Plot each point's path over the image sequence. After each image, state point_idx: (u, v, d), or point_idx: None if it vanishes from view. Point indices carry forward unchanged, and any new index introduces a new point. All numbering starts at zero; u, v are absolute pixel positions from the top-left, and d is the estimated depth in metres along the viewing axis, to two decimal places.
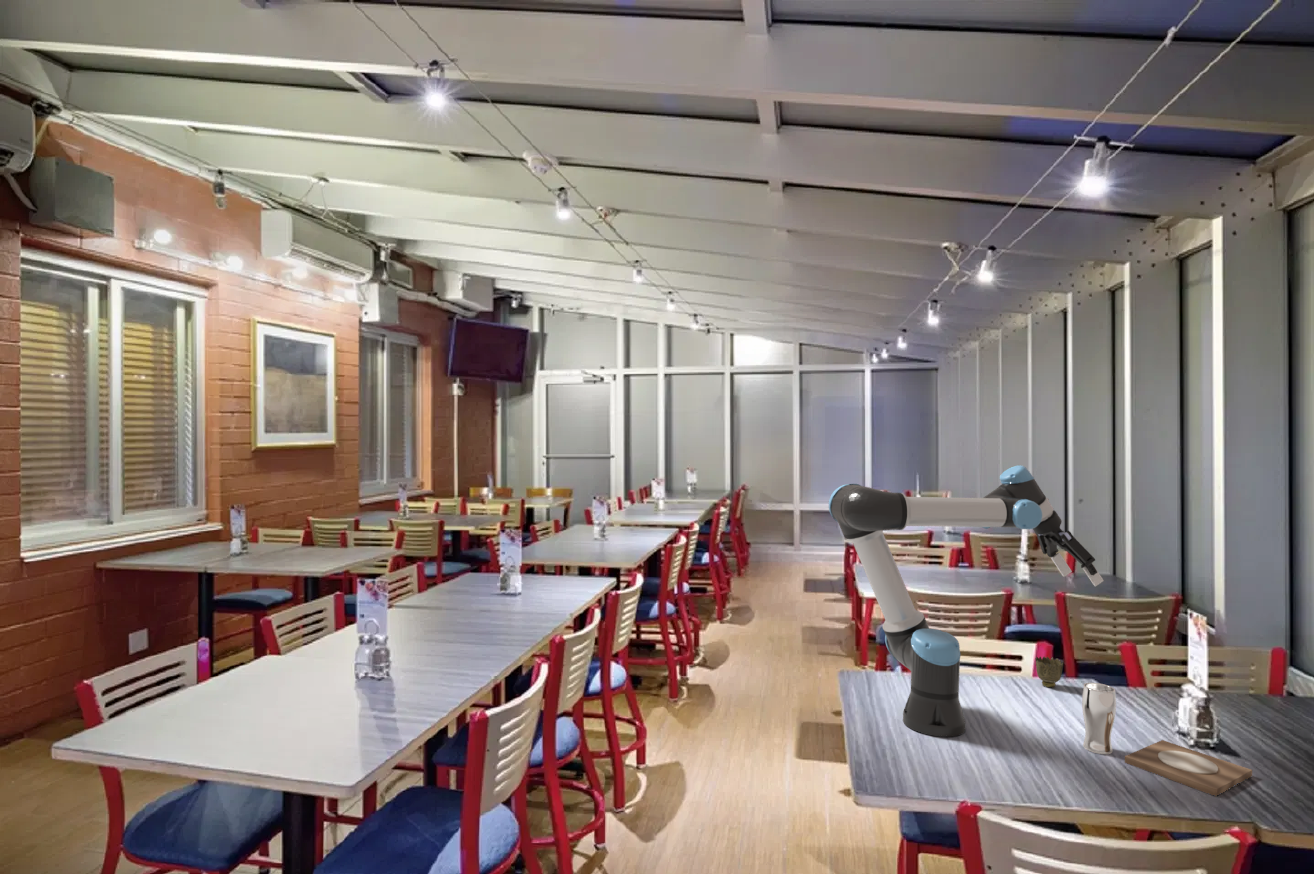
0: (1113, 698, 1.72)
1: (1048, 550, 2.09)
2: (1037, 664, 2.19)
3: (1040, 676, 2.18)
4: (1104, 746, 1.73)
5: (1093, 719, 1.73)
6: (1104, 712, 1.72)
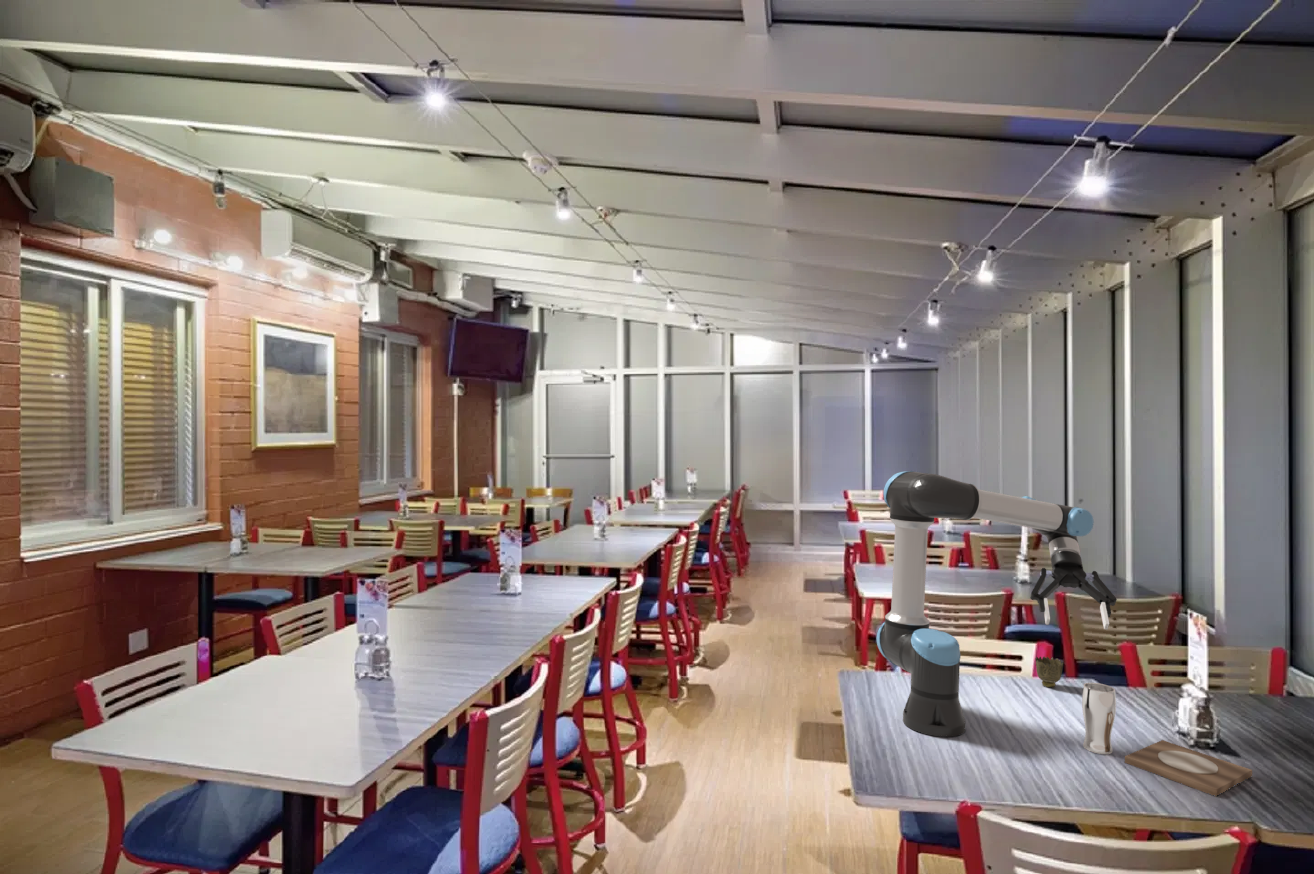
0: (1113, 698, 1.72)
1: (1047, 589, 1.98)
2: (1037, 664, 2.19)
3: (1040, 676, 2.18)
4: (1104, 746, 1.73)
5: (1093, 719, 1.73)
6: (1104, 712, 1.72)
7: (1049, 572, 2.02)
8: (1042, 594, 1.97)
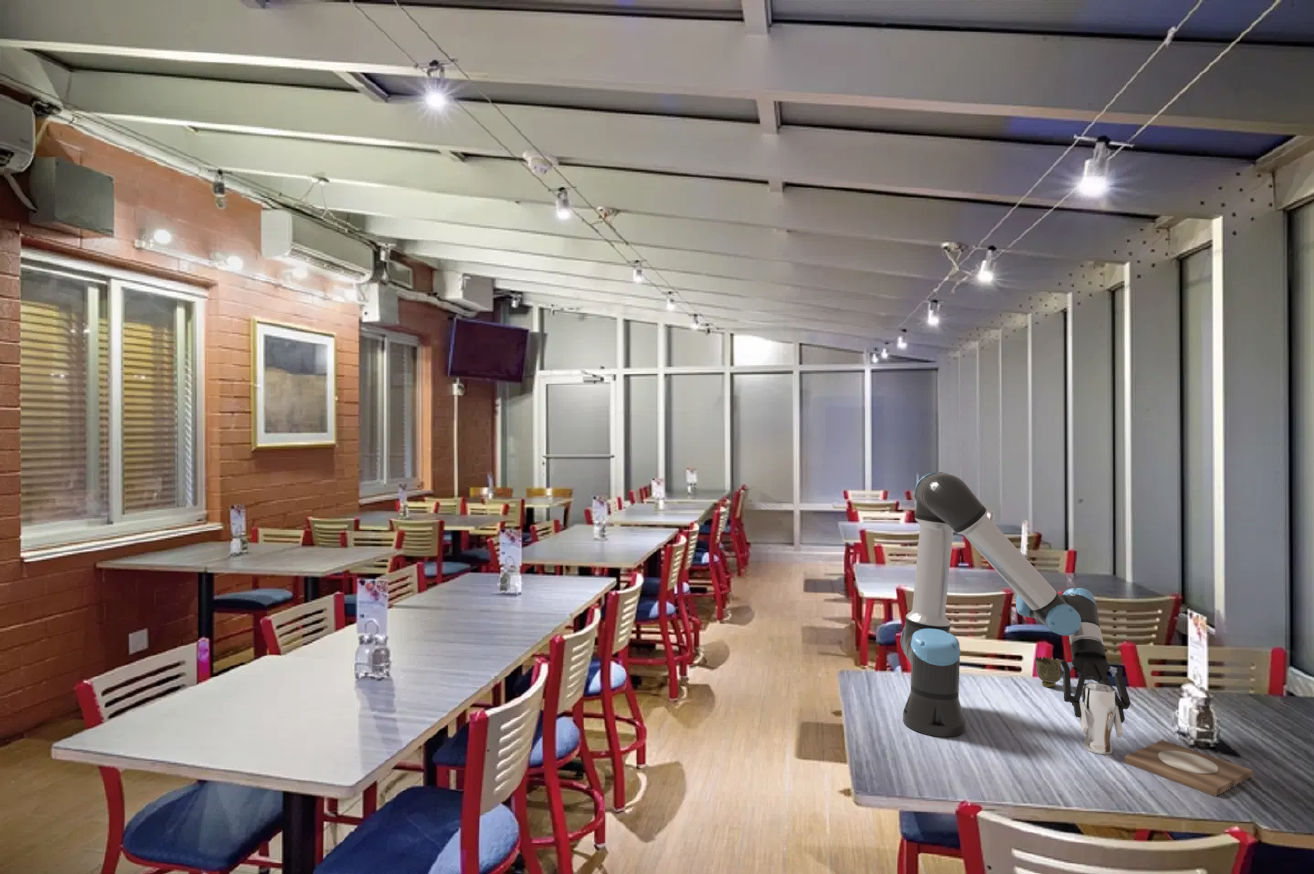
0: (1113, 698, 1.72)
1: (1079, 689, 1.79)
2: (1037, 664, 2.19)
3: (1040, 676, 2.18)
4: (1104, 746, 1.73)
5: (1093, 719, 1.73)
6: (1104, 712, 1.72)
7: (1070, 664, 1.84)
8: (1077, 696, 1.78)
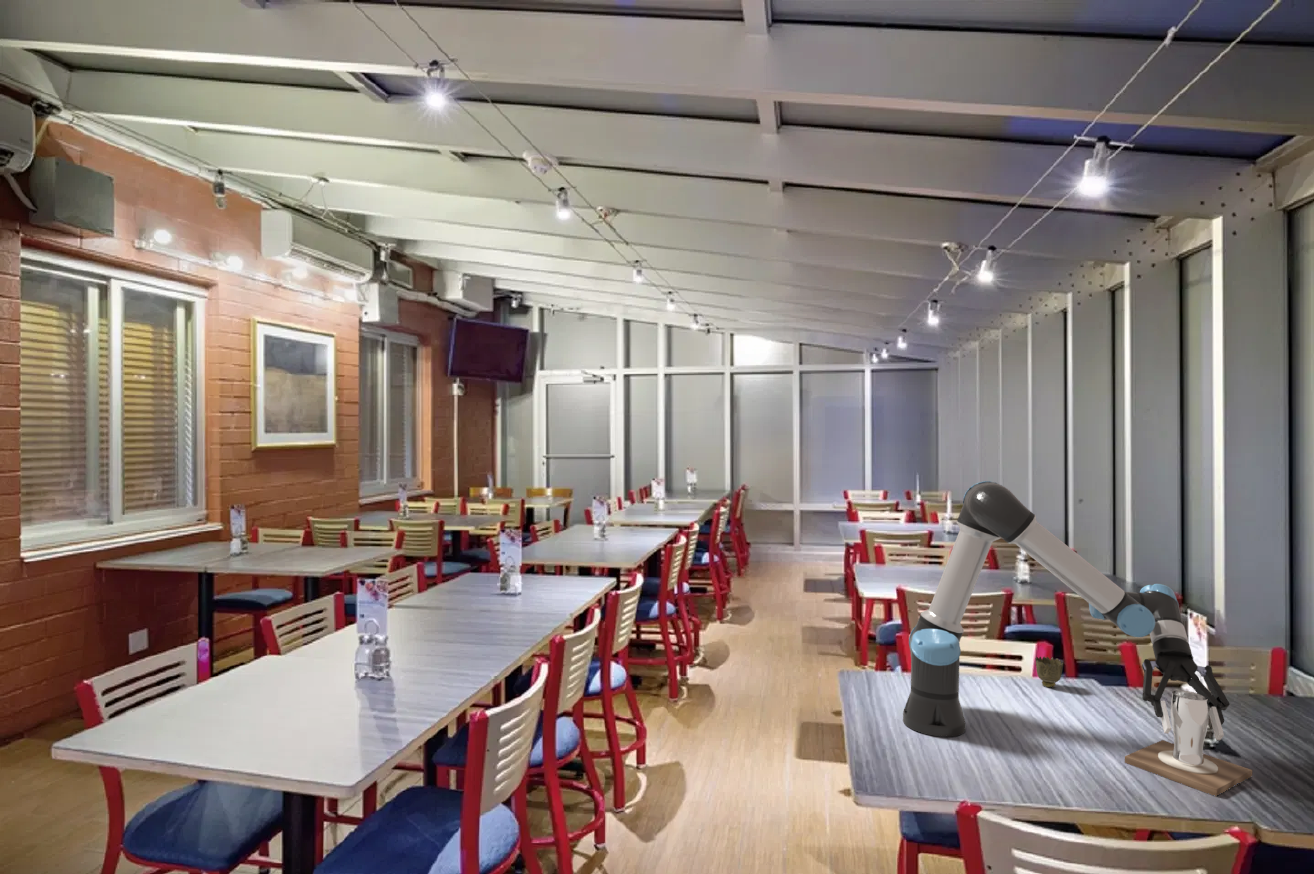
0: (1206, 707, 1.62)
1: (1161, 688, 1.69)
2: (1037, 664, 2.19)
3: (1040, 676, 2.18)
4: (1196, 758, 1.63)
5: (1184, 729, 1.63)
6: (1197, 722, 1.62)
7: (1153, 663, 1.74)
8: (1157, 695, 1.68)
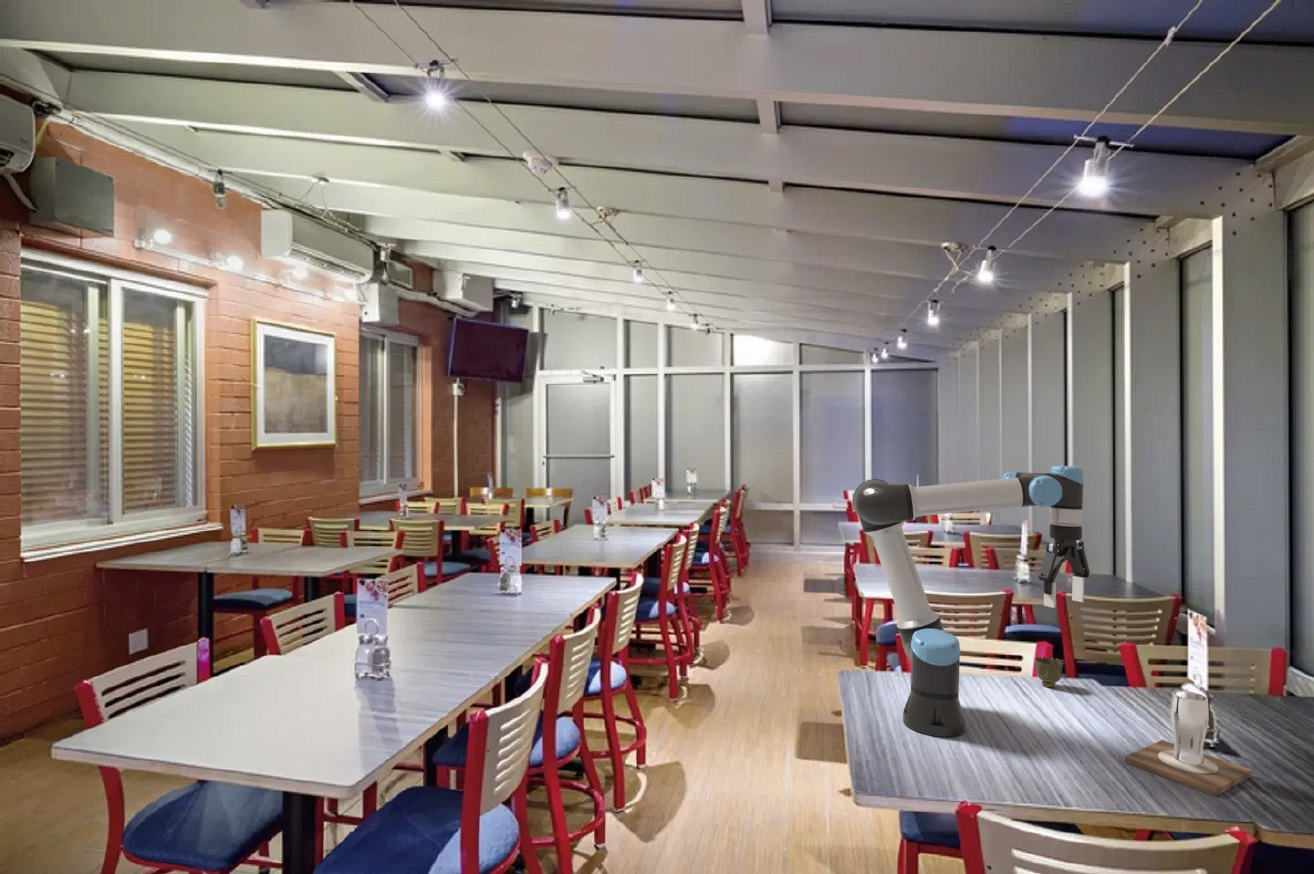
0: (1206, 707, 1.62)
1: (1056, 571, 1.89)
2: (1037, 664, 2.19)
3: (1040, 676, 2.18)
4: (1196, 758, 1.63)
5: (1184, 729, 1.63)
6: (1197, 722, 1.62)
7: None
8: (1053, 578, 1.89)
